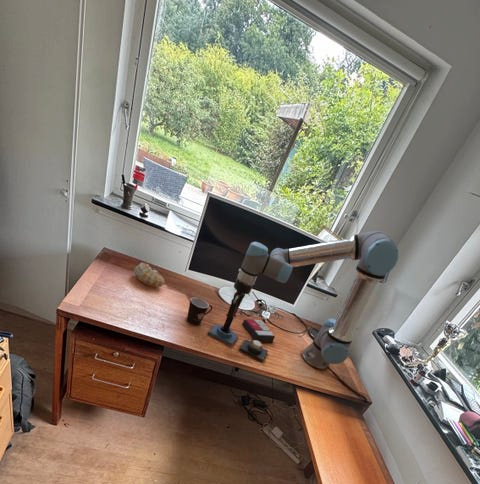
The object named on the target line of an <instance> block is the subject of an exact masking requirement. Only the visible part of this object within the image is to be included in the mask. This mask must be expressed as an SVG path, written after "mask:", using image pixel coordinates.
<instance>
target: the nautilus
mask: <svg viewBox="0 0 480 484" xmlns="http://www.w3.org/2000/svg"><path fill="white" fill-rule="evenodd" d="M150 265H152V263H150V262H147V261H145V262H140V263H139V264H137V265H136V266H135V267H134V268H133V272H134V275H135V277H136V279H137V280H138V281H140V282H142V283H144V284H145V285H147V286H151V287H157V288H158V287H163V285H164V284H165V282H166V281H165V277H163V276H162V275H161V273H160V272H159V271H158V270H157V269H156V268H155V267H154V268H153V267H152V266H150Z"/></svg>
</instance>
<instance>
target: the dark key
mask: <svg viewBox="0 0 480 484" xmlns="http://www.w3.org/2000/svg"><path fill="white" fill-rule="evenodd" d="M223 326H224V325H223ZM223 326H222V327H221V330H222V331H223V332H225V333H230V329H231V328H230V329H229V330H226V329H224V328H223Z"/></svg>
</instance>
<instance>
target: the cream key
mask: <svg viewBox="0 0 480 484" xmlns="http://www.w3.org/2000/svg"><path fill="white" fill-rule="evenodd" d="M252 341H253V342H252V347H253V348H255V349H260V348H261V346H263V345H262V344H263V343H262V342H259V341H257V340H254V339H253V340H252Z"/></svg>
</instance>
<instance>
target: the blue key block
mask: <svg viewBox="0 0 480 484" xmlns="http://www.w3.org/2000/svg"><path fill="white" fill-rule="evenodd" d="M222 326H224V324H221V325H220V324H217V323H215V325H213V327H212V328H211V329H210V330H209V331H208V333H207V334H208V336H210V337H212V338H214V339H216V340H217V341H220V342H221V343H223V344H226V345H228V346H229V347H232V346H233V345H234V343H235V342H236V340H237V339H238V337H239V335H238V334H237V333H235V332H234V331H233V329H231V327H230V328H229V329H230V333H225V332H223V331H222V330H221V327H222Z"/></svg>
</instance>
